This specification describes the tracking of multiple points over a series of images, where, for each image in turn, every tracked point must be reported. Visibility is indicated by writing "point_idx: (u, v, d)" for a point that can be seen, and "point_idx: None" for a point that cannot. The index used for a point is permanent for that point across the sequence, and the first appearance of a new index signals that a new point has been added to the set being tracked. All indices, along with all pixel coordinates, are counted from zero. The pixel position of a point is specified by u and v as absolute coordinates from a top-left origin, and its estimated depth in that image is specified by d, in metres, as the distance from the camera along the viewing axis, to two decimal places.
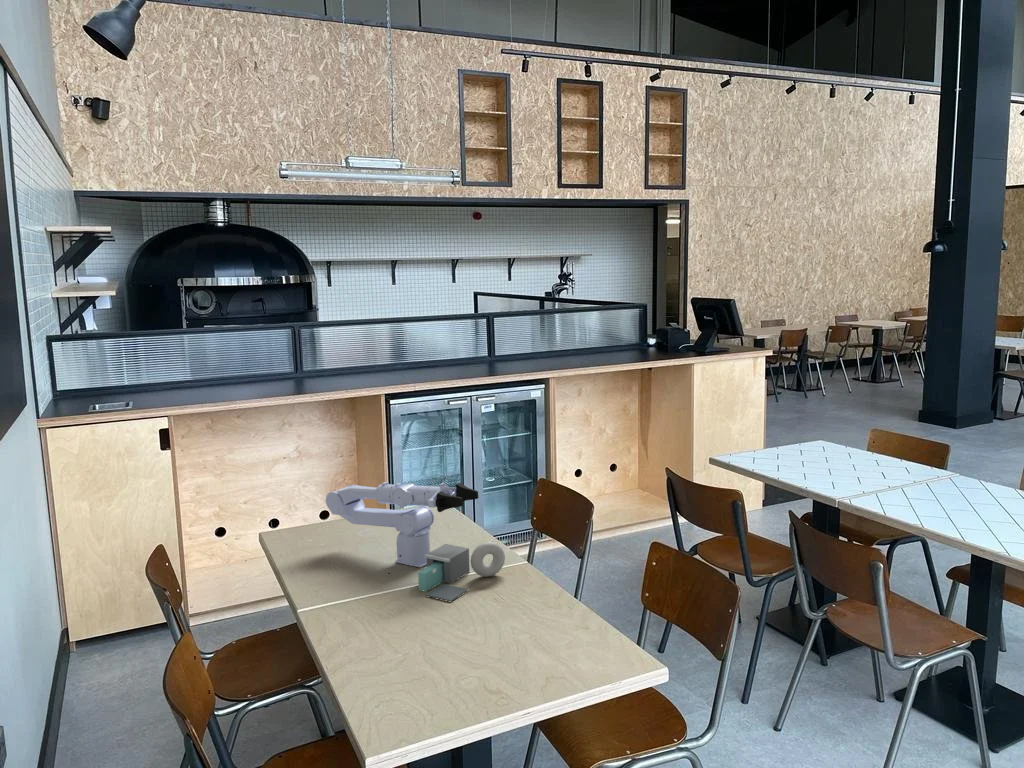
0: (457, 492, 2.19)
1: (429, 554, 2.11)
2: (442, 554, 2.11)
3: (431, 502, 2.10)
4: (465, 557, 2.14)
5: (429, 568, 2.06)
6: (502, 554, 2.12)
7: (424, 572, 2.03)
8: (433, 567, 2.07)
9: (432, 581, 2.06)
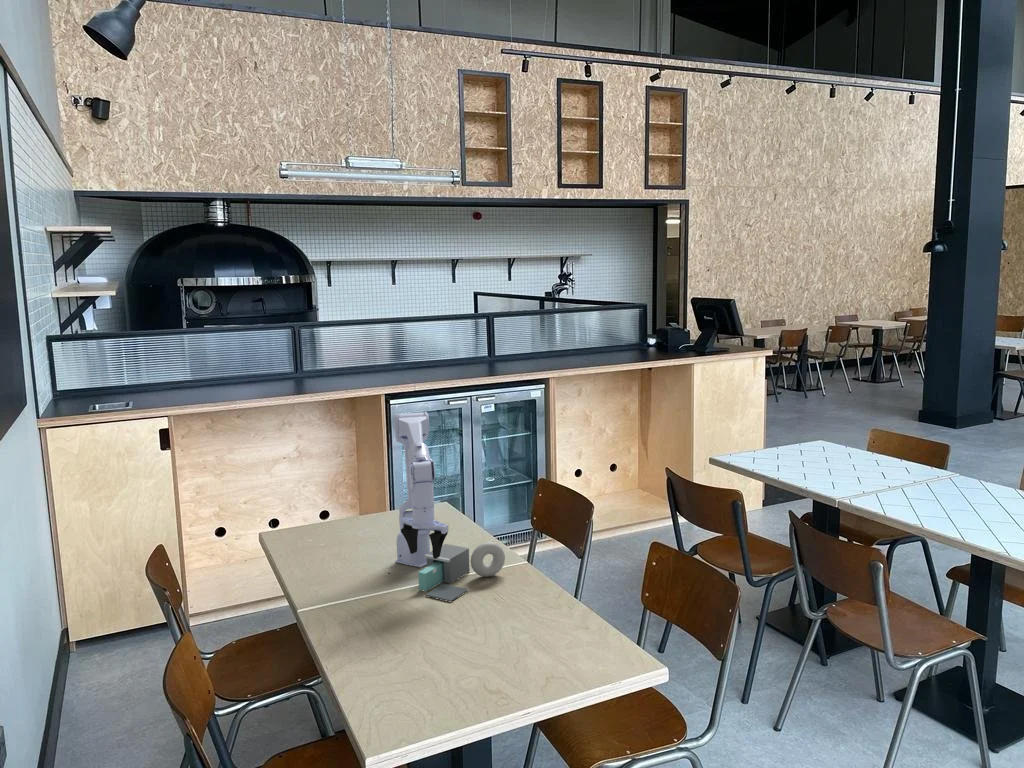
0: None
1: (429, 554, 2.11)
2: (442, 554, 2.11)
3: None
4: (465, 557, 2.14)
5: (429, 568, 2.06)
6: (502, 554, 2.12)
7: (424, 572, 2.03)
8: (433, 567, 2.07)
9: (432, 581, 2.06)
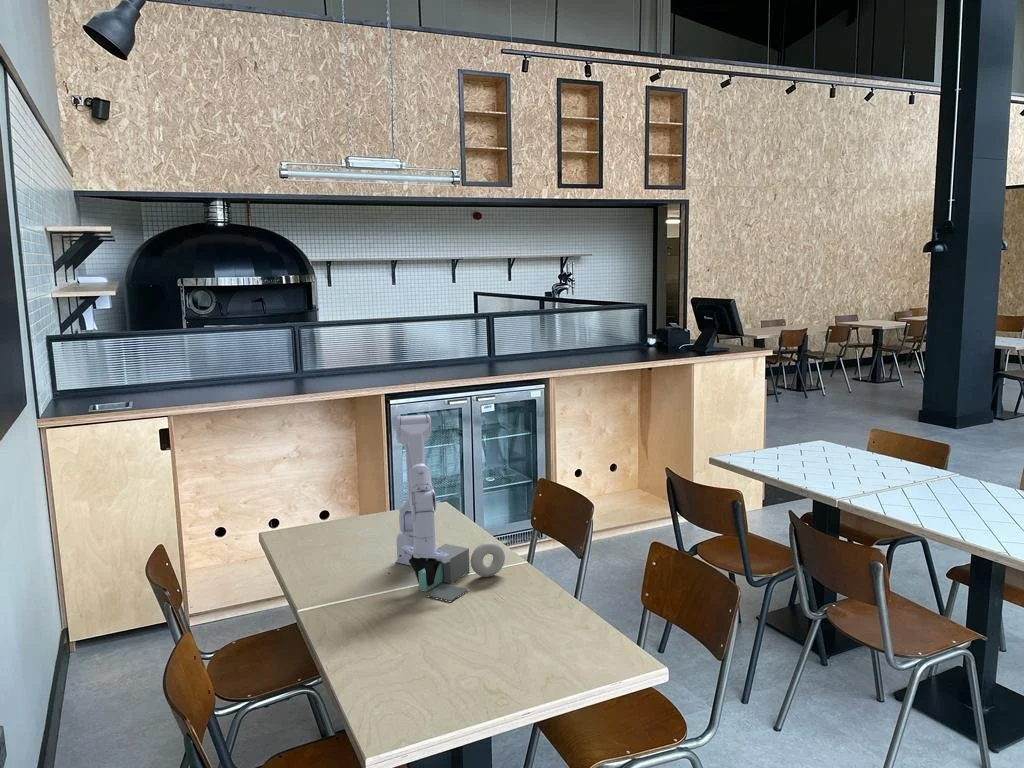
0: None
1: None
2: None
3: None
4: (465, 557, 2.14)
5: None
6: (502, 554, 2.12)
7: (424, 571, 2.03)
8: None
9: None
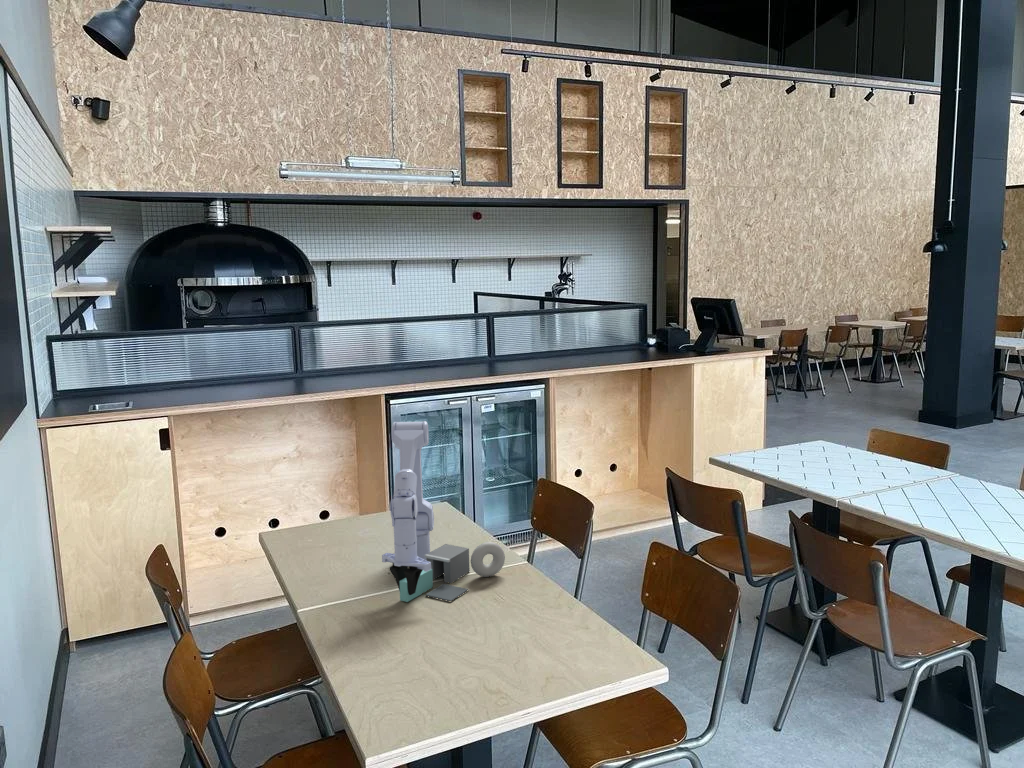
0: None
1: (429, 554, 2.11)
2: (442, 554, 2.11)
3: None
4: (465, 557, 2.14)
5: None
6: (502, 554, 2.12)
7: (405, 581, 1.97)
8: None
9: None
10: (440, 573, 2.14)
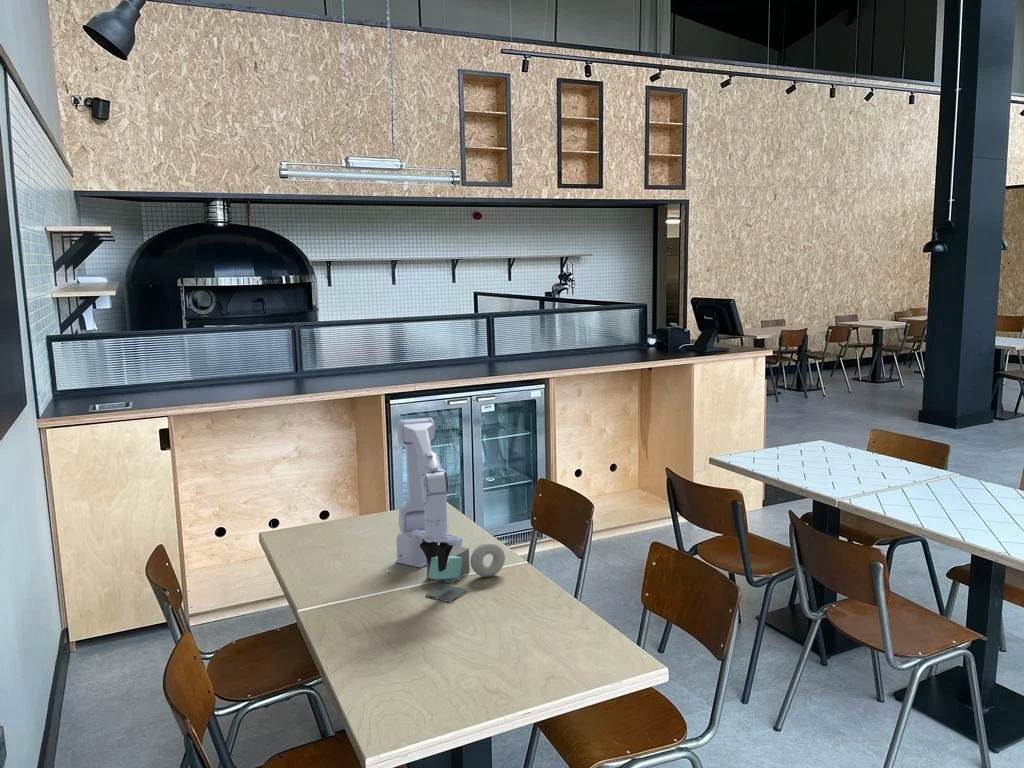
0: None
1: None
2: None
3: None
4: (465, 557, 2.14)
5: None
6: (502, 554, 2.12)
7: (437, 558, 1.96)
8: None
9: (443, 571, 1.97)
10: None
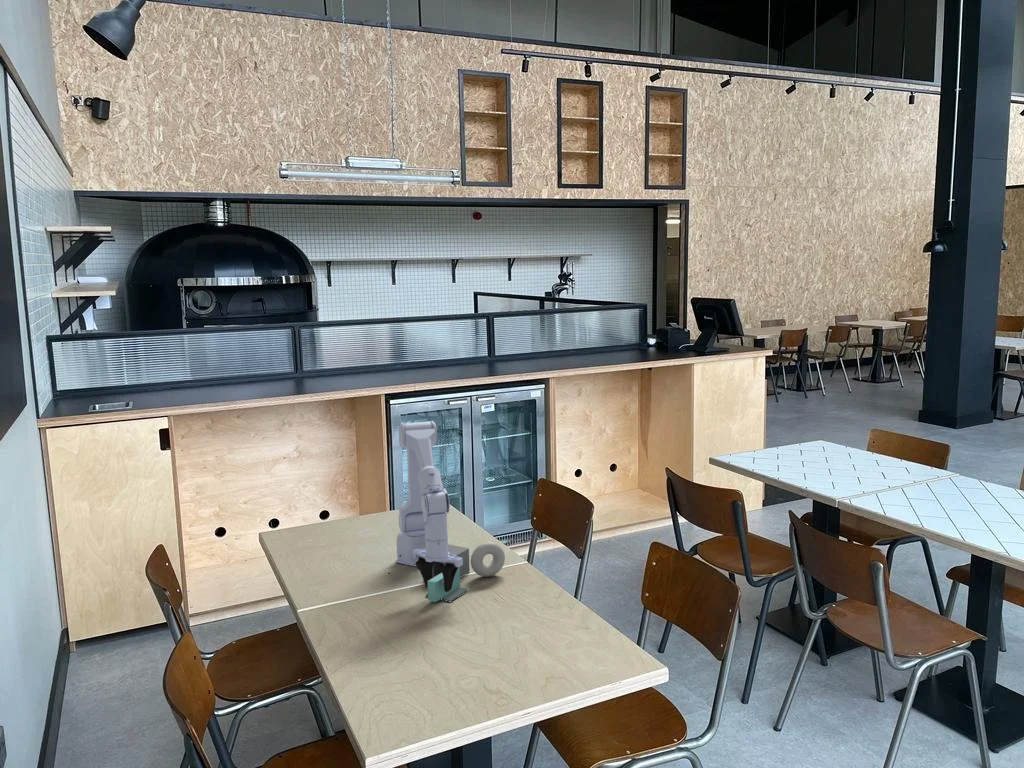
0: None
1: None
2: None
3: None
4: (465, 557, 2.14)
5: (439, 577, 1.98)
6: (502, 554, 2.12)
7: (434, 581, 1.95)
8: None
9: (442, 591, 1.97)
10: None
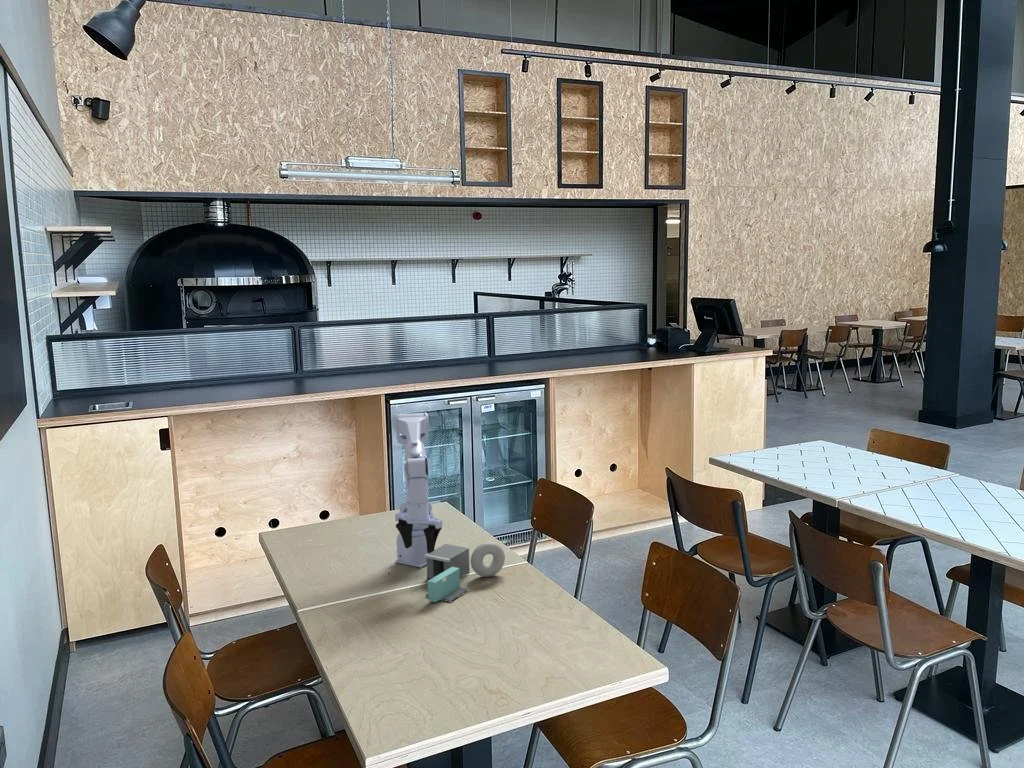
0: None
1: (429, 554, 2.11)
2: (442, 554, 2.11)
3: None
4: (465, 557, 2.14)
5: (439, 577, 1.98)
6: (502, 554, 2.12)
7: (434, 581, 1.95)
8: (443, 576, 1.99)
9: (442, 591, 1.97)
10: None
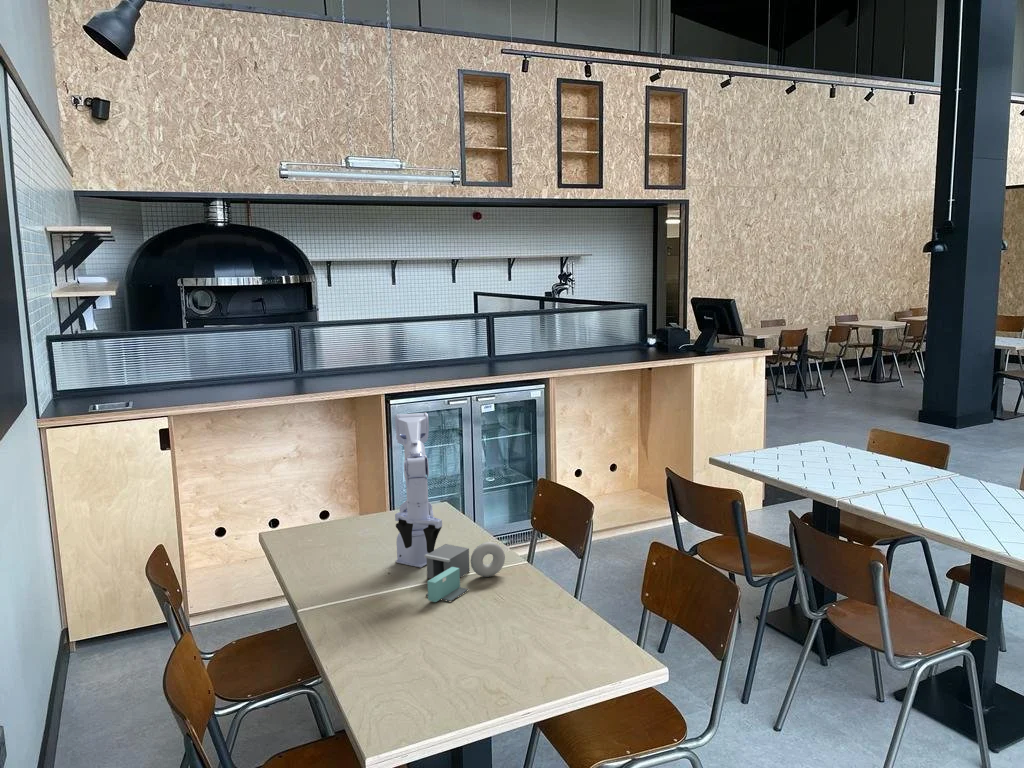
0: None
1: (429, 554, 2.11)
2: (442, 554, 2.11)
3: None
4: (465, 557, 2.14)
5: (439, 577, 1.98)
6: (502, 554, 2.12)
7: (434, 581, 1.95)
8: (443, 576, 1.99)
9: (442, 591, 1.97)
10: None
